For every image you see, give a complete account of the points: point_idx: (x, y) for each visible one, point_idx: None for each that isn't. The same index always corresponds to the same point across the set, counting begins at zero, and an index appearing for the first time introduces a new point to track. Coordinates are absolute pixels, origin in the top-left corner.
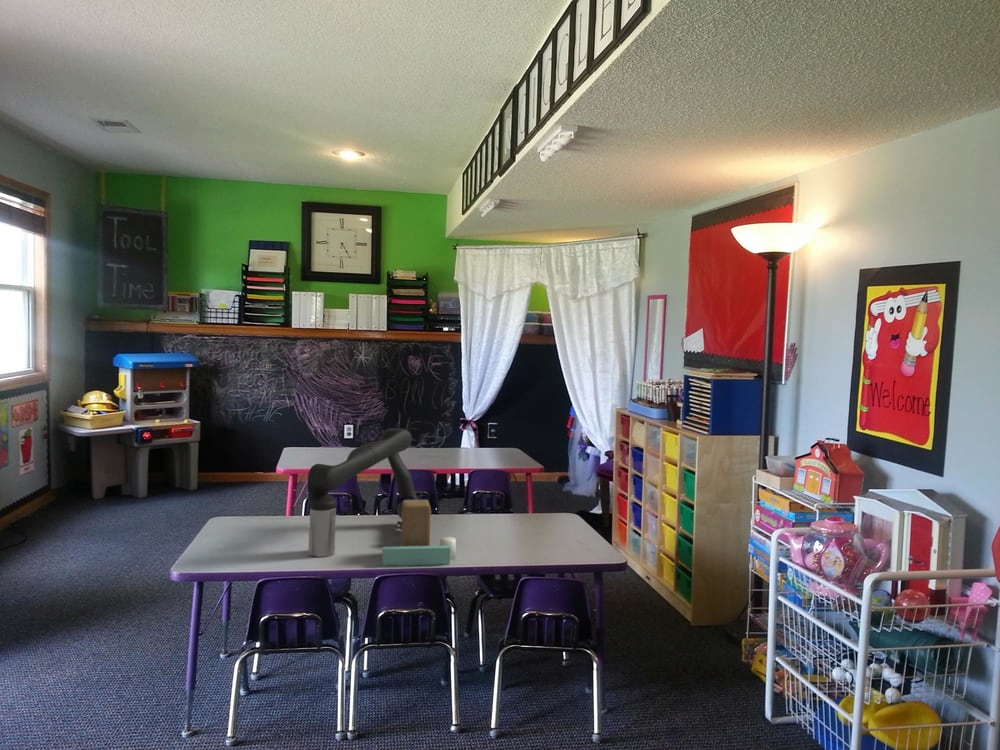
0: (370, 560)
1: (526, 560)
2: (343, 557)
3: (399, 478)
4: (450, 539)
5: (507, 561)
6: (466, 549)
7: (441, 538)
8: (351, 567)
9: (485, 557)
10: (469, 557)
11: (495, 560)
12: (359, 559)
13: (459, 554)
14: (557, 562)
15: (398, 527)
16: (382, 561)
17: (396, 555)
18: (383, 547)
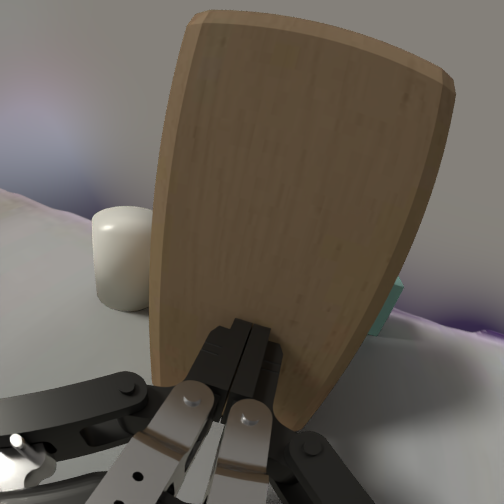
0: (416, 365)
1: (15, 209)
2: (487, 400)
3: None
4: (123, 214)
5: (40, 217)
6: (6, 306)
7: (144, 230)
8: (442, 333)
9: (43, 244)
10: (71, 261)
11: (49, 228)
12: (447, 379)
13: (68, 289)
14: (2, 194)
15: None
16: (379, 329)
17: None
18: (399, 282)
